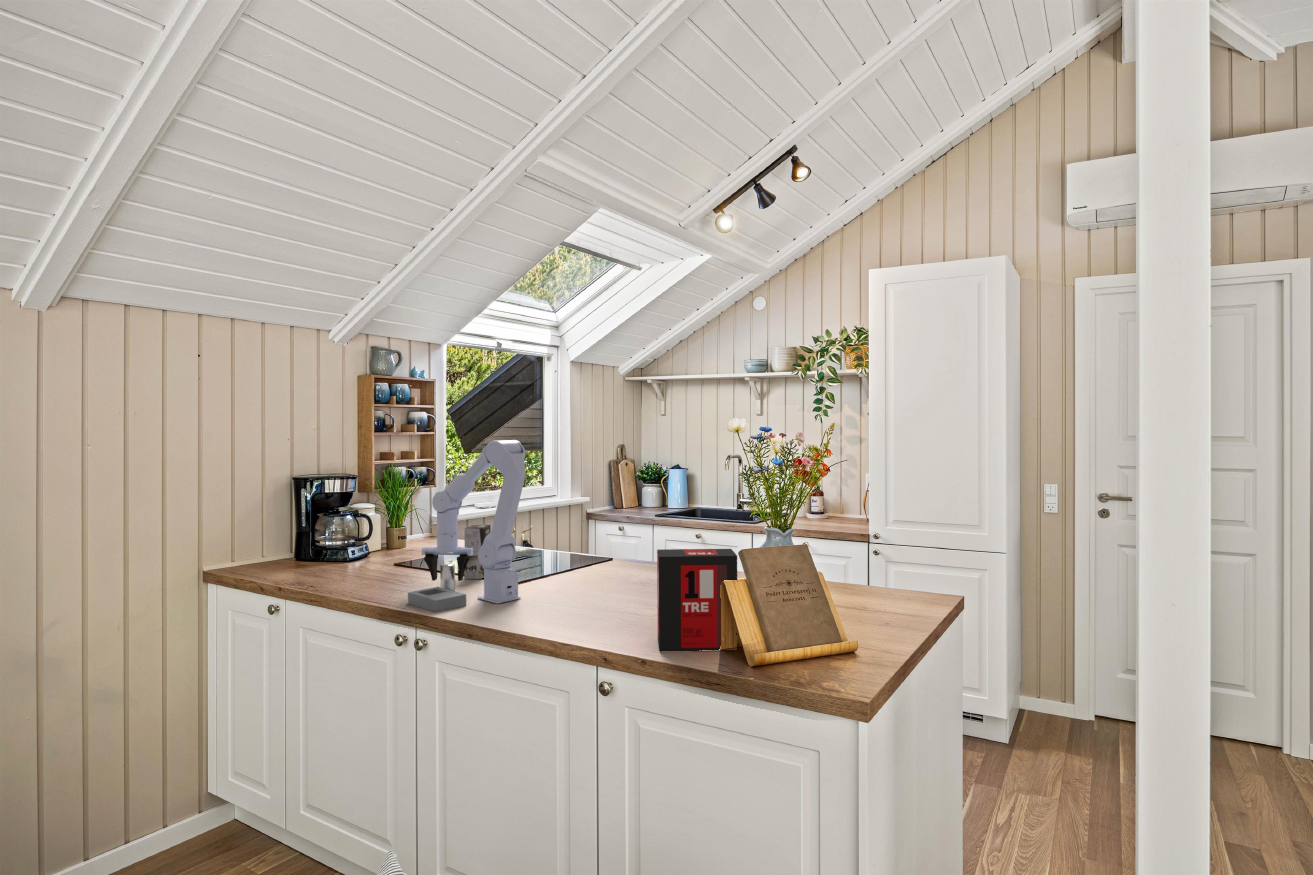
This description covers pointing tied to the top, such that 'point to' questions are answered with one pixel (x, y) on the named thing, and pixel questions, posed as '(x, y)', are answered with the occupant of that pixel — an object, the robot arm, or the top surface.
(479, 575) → the coffee box
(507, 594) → the robot arm
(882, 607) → the top surface
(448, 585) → the peg
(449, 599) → the socket block
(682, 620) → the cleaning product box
